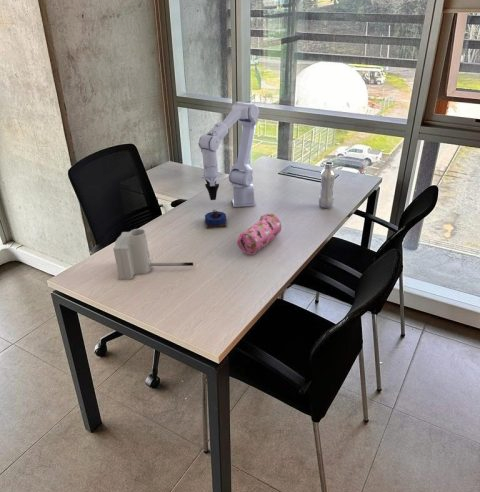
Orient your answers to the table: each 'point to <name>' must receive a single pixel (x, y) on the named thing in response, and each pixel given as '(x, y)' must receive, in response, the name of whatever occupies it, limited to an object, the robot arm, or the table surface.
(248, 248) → the pencil case
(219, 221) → the ring
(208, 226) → the stand
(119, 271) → the electronic device
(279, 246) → the table surface
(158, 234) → the table surface
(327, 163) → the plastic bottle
